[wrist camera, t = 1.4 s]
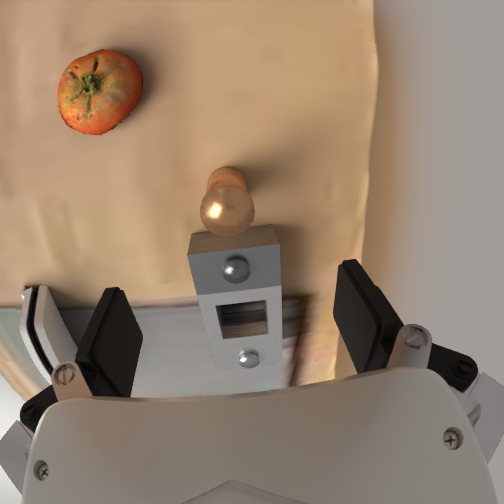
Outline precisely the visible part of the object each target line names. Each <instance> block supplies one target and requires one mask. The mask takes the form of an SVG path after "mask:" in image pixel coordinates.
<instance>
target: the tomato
mask: <svg viewBox="0 0 504 504" xmlns="http://www.w3.org/2000/svg"><path fill="white" fill-rule="evenodd" d="M142 86H143V80H142V75H141V72H140V70H139V68H138V65H137V64H136V63H135V62H134V61H133V60H131V59H130V58H128V57H126V56H124V55H122V54H120V53H117V52H114V51H109V50H103V49H102V50H99V51H96V52H93V53H90V54H88V55H86V56H83V57H80V58H78V59H76V60H74V61H73V62H72V63H71V64H70V65H69V66H68V67H67V68H66V70H65V71H64V73H63V74H62V77H61V80H60V83H59V87H58V103H59V105H58V107H59V112H60V114H61V116H62V118H63V120H64V122H65V123H66V125H67V126H69V127H71V128H72V129H74V130H75V129H76V130H77V131H79V132H82V133H83V134H86V133H87V134H90V135H102V134H104V133H106V132H108V131H110V130H112V129H114V128H115V127H116V126H117V125H118V124H119V123H121V122H122V120H124V119H126V117H127V116H129V114H130V112H131V111H133V109H134V108H135V107H136V105H137V103H138V101H139V98H140V94H141V91H142Z"/></svg>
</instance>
